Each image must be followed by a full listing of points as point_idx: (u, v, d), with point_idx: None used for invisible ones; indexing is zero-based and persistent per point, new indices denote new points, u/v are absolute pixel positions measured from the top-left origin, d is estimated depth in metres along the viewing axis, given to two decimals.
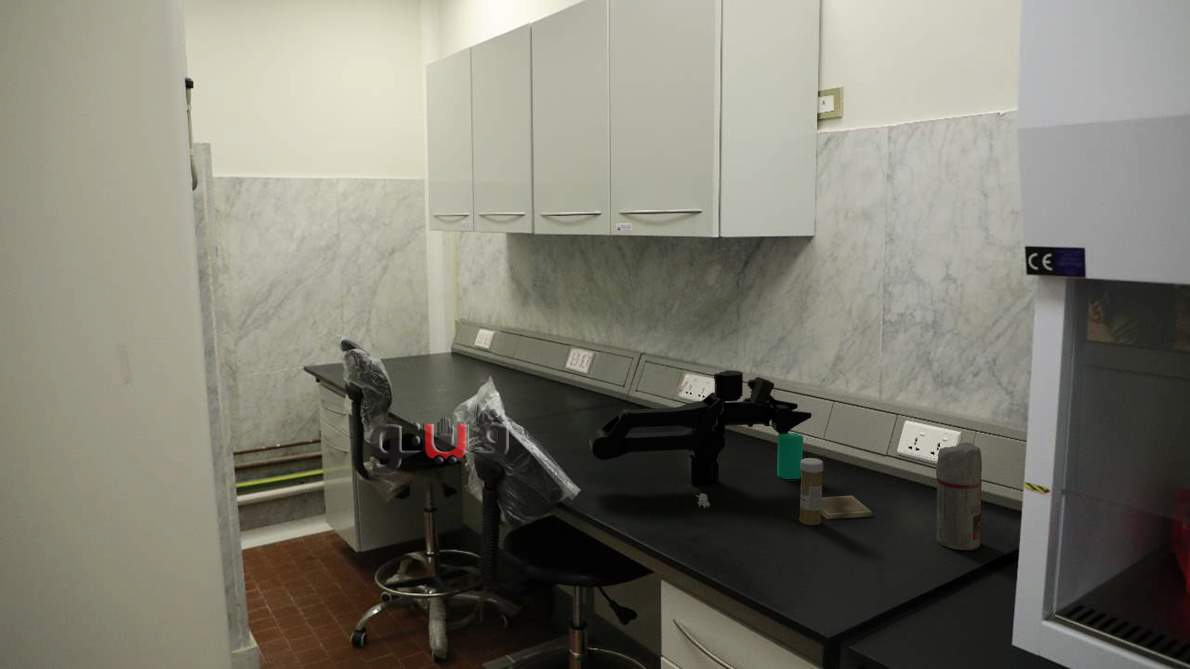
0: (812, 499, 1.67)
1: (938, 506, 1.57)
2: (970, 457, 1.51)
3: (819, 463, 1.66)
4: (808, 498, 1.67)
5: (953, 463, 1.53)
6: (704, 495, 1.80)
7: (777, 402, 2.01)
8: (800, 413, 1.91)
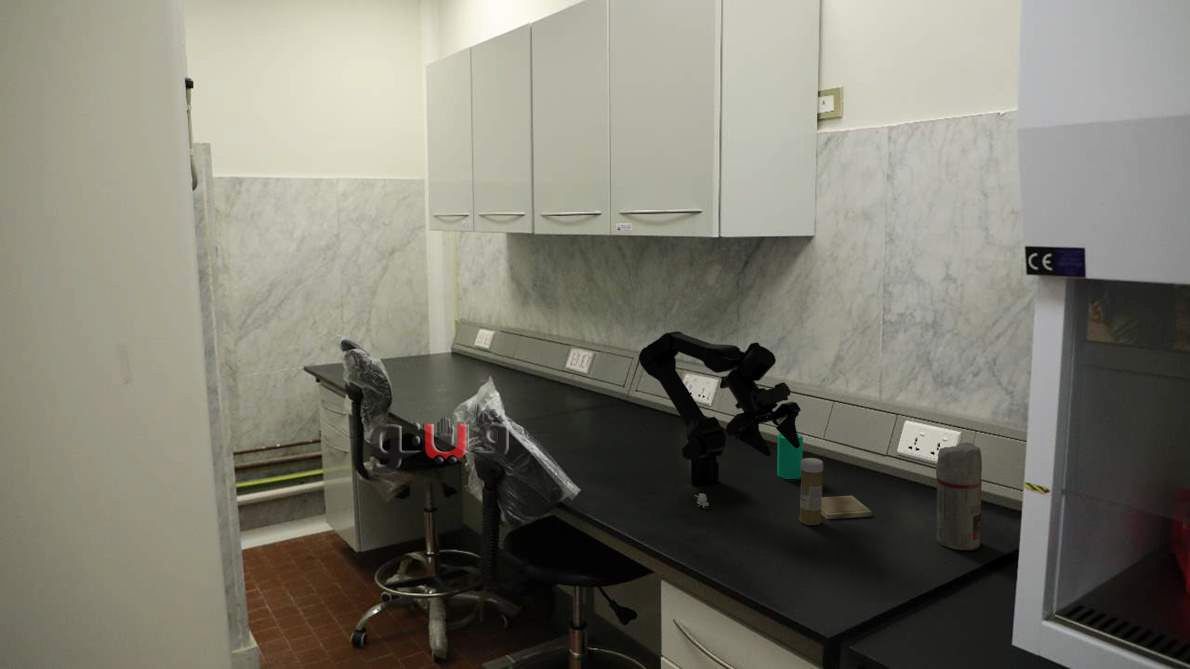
0: (812, 499, 1.67)
1: (938, 506, 1.57)
2: (970, 457, 1.51)
3: (819, 463, 1.66)
4: (808, 498, 1.67)
5: (953, 463, 1.53)
6: (703, 495, 1.80)
7: (789, 425, 1.78)
8: (761, 442, 1.72)
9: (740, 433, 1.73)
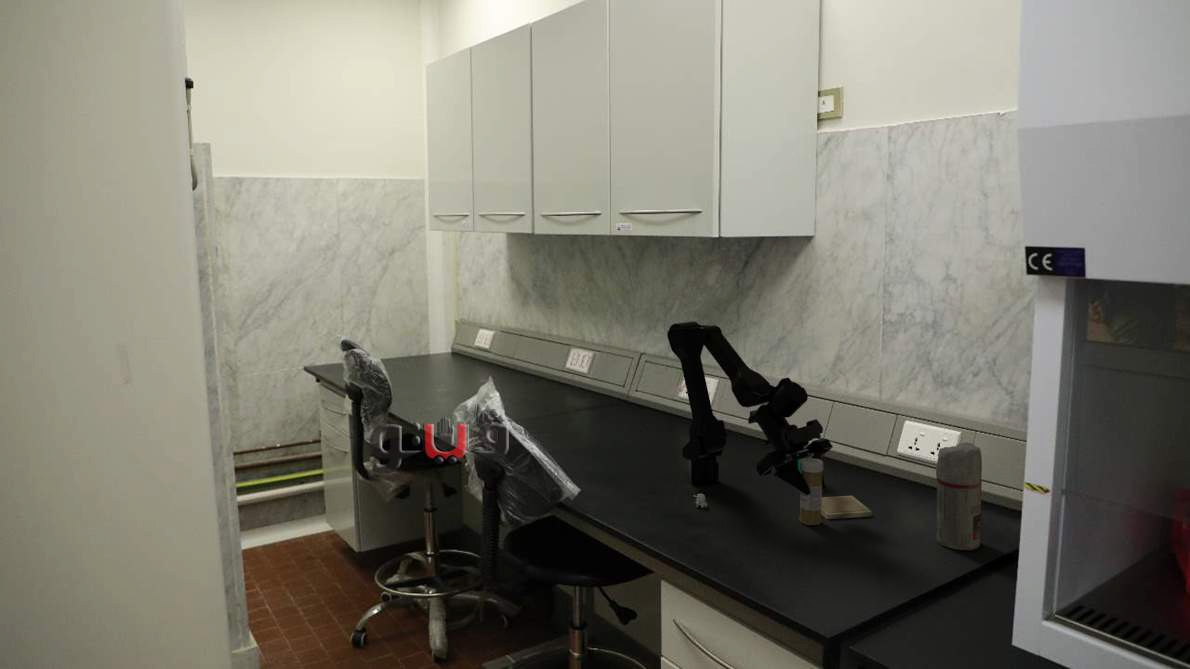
0: (812, 499, 1.67)
1: (938, 506, 1.57)
2: (970, 457, 1.51)
3: (819, 463, 1.66)
4: (808, 498, 1.67)
5: (953, 463, 1.53)
6: (702, 495, 1.80)
7: None
8: (800, 481, 1.67)
9: (778, 470, 1.68)
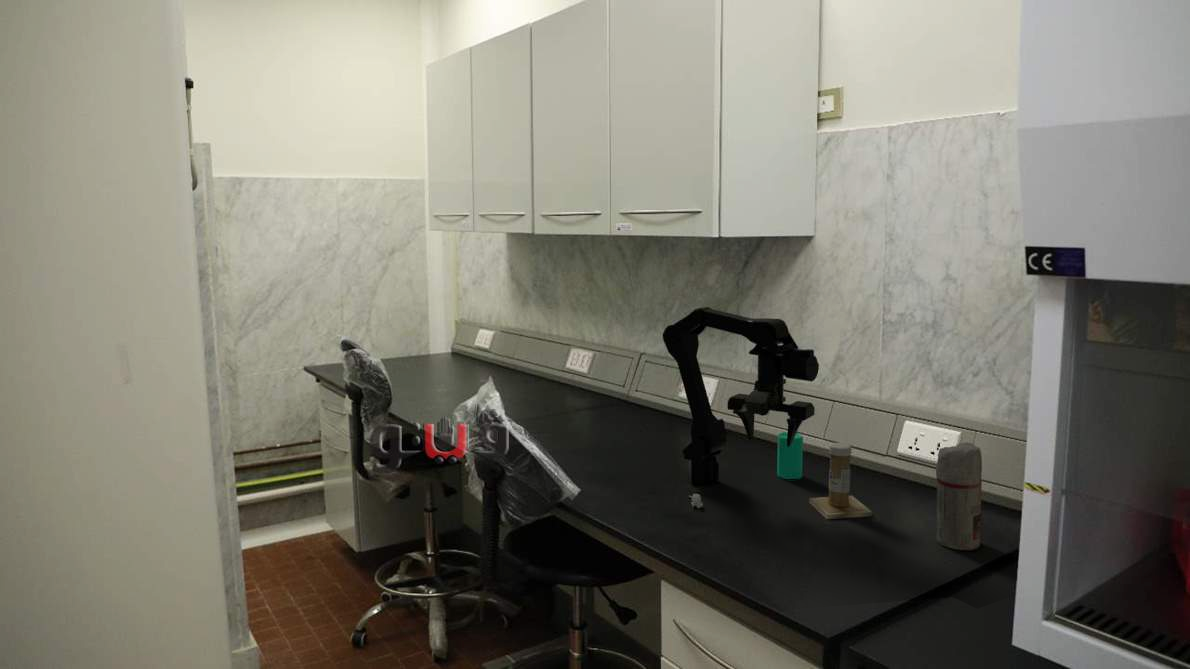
0: (844, 482, 1.74)
1: (938, 506, 1.57)
2: (970, 457, 1.51)
3: (849, 446, 1.74)
4: (841, 481, 1.74)
5: (953, 463, 1.53)
6: (697, 495, 1.80)
7: None
8: None
9: None
